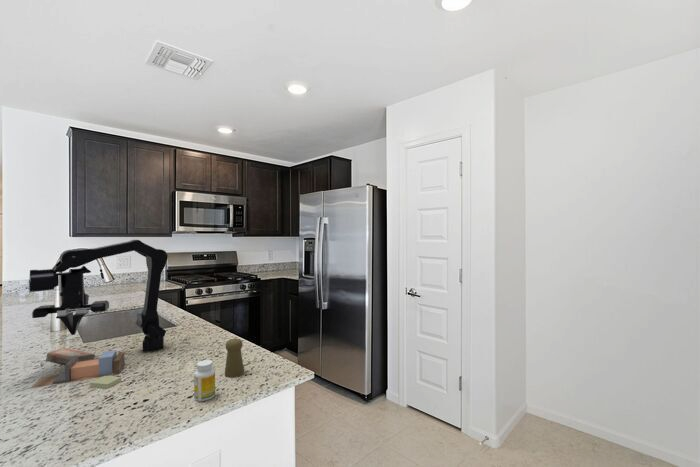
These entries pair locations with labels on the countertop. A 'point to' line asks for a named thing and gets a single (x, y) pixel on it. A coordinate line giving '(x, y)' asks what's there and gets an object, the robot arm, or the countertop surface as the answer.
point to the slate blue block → (106, 362)
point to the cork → (234, 358)
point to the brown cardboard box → (85, 369)
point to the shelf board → (117, 368)
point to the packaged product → (67, 356)
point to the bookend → (66, 371)
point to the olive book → (105, 382)
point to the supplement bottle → (204, 381)
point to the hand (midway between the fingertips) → (73, 334)
